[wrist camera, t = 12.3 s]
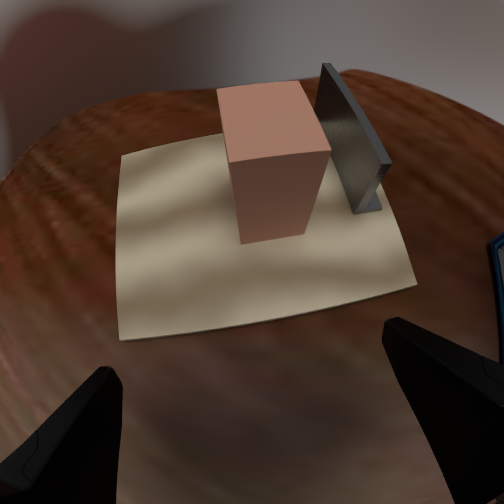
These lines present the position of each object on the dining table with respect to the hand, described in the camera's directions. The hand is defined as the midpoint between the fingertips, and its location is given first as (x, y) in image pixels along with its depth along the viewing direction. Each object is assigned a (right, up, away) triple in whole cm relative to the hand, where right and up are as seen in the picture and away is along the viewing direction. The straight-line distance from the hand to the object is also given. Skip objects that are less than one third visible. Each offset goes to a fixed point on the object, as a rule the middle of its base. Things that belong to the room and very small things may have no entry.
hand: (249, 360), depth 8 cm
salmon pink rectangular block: (+1, +7, +15) cm, 17 cm away
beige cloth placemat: (0, +7, +16) cm, 17 cm away
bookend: (+8, +12, +17) cm, 22 cm away
